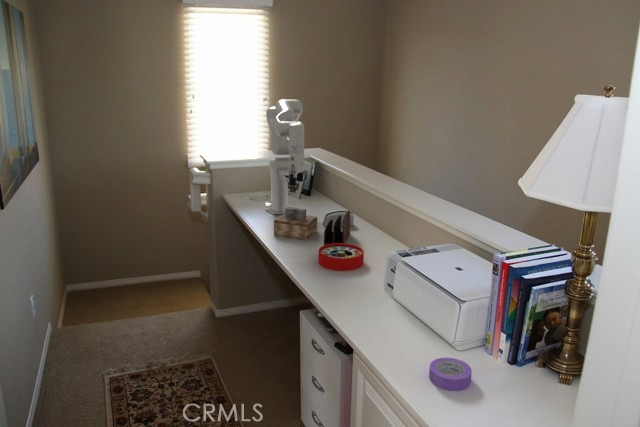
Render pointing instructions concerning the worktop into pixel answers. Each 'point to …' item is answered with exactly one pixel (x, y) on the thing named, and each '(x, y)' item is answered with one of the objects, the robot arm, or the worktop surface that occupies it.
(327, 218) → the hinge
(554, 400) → the worktop surface
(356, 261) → the toy clock
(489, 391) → the worktop surface
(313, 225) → the wooden box
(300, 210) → the lid
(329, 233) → the letter holder
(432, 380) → the masking tape
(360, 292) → the worktop surface
